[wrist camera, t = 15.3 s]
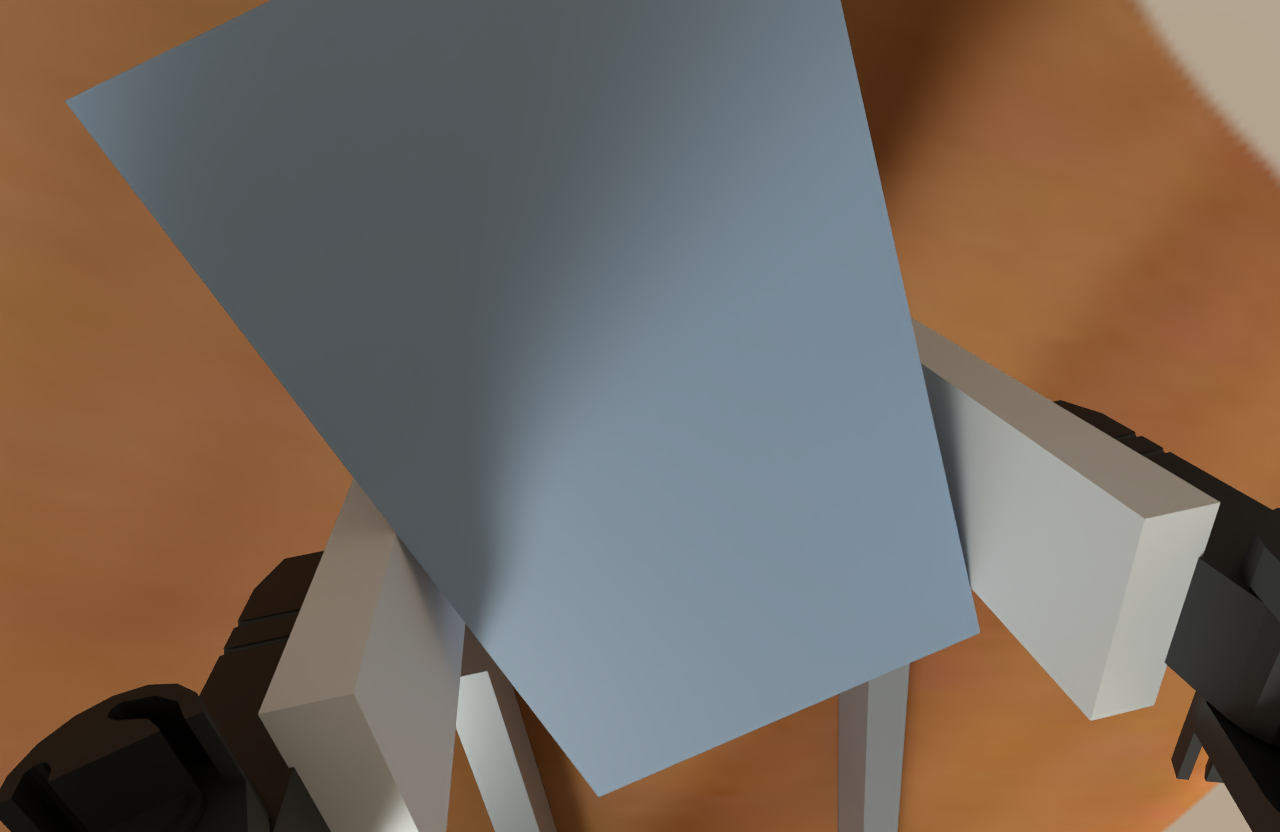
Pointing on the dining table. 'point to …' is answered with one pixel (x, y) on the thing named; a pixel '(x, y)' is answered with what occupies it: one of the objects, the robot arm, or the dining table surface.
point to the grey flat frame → (521, 800)
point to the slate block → (582, 333)
